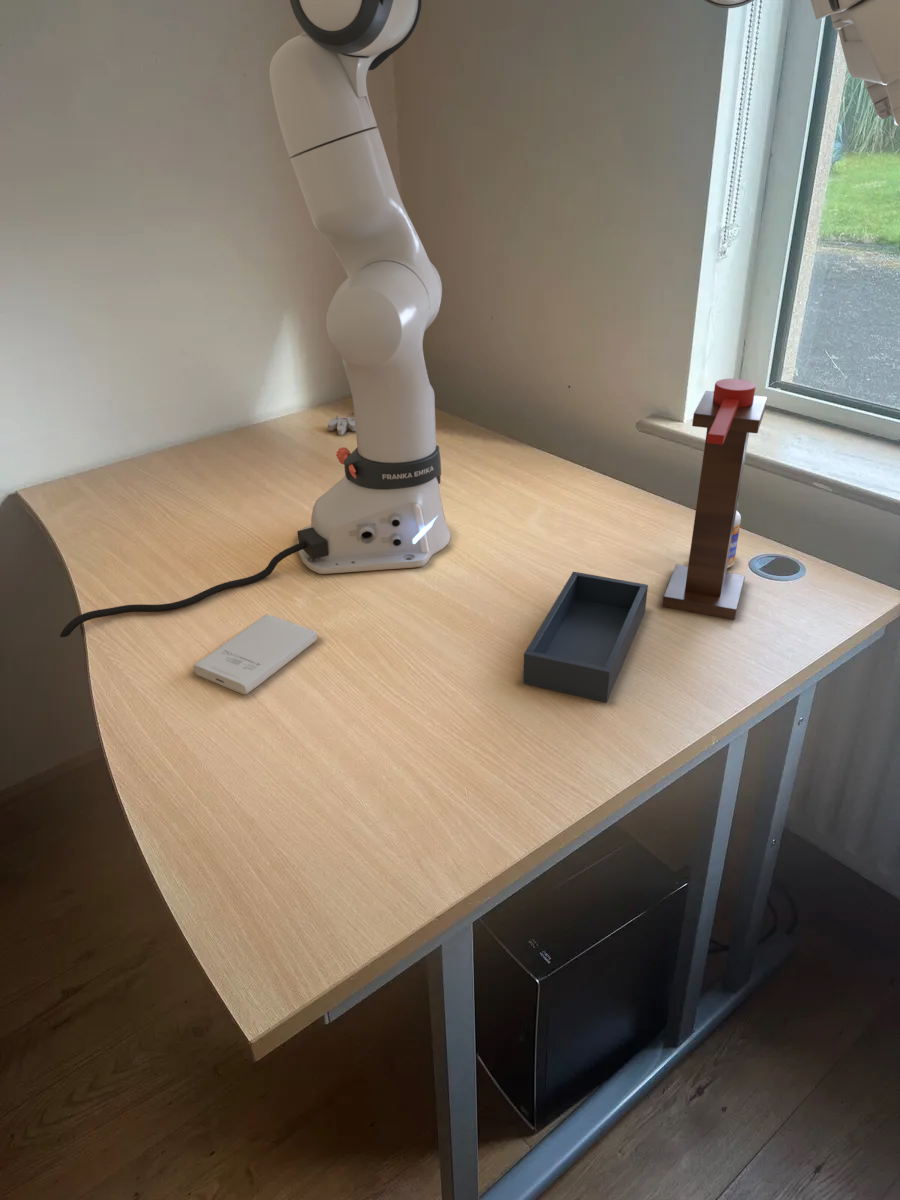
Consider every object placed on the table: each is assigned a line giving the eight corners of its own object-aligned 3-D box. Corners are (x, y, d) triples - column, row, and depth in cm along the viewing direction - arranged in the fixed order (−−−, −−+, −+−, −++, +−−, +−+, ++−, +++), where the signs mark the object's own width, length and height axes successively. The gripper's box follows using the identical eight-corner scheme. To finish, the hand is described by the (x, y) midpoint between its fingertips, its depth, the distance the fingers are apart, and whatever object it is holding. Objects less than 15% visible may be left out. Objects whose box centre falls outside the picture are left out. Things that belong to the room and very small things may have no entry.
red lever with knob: (737, 446, 87) (740, 427, 86) (692, 441, 88) (694, 422, 87) (755, 397, 100) (757, 380, 98) (715, 393, 101) (718, 376, 100)
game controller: (329, 436, 165) (328, 423, 163) (324, 417, 175) (323, 404, 173) (359, 433, 166) (358, 420, 164) (352, 414, 175) (351, 402, 174)
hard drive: (317, 642, 105) (246, 696, 96) (267, 623, 109) (194, 674, 100) (316, 631, 104) (244, 684, 95) (265, 613, 108) (191, 663, 99)
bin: (606, 702, 94) (609, 672, 92) (523, 683, 97) (523, 653, 95) (644, 612, 109) (648, 584, 107) (571, 598, 112) (573, 571, 110)
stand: (733, 623, 106) (769, 421, 93) (660, 610, 109) (684, 412, 96) (743, 585, 114) (777, 393, 101) (674, 573, 117) (699, 385, 104)
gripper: (812, -1, 94) (849, 127, 99) (839, -10, 77) (882, 144, 82) (873, -36, 91) (908, 97, 96) (916, -54, 74) (955, 109, 80)
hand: (896, 119), depth 89 cm, fingers open, 8 cm apart
